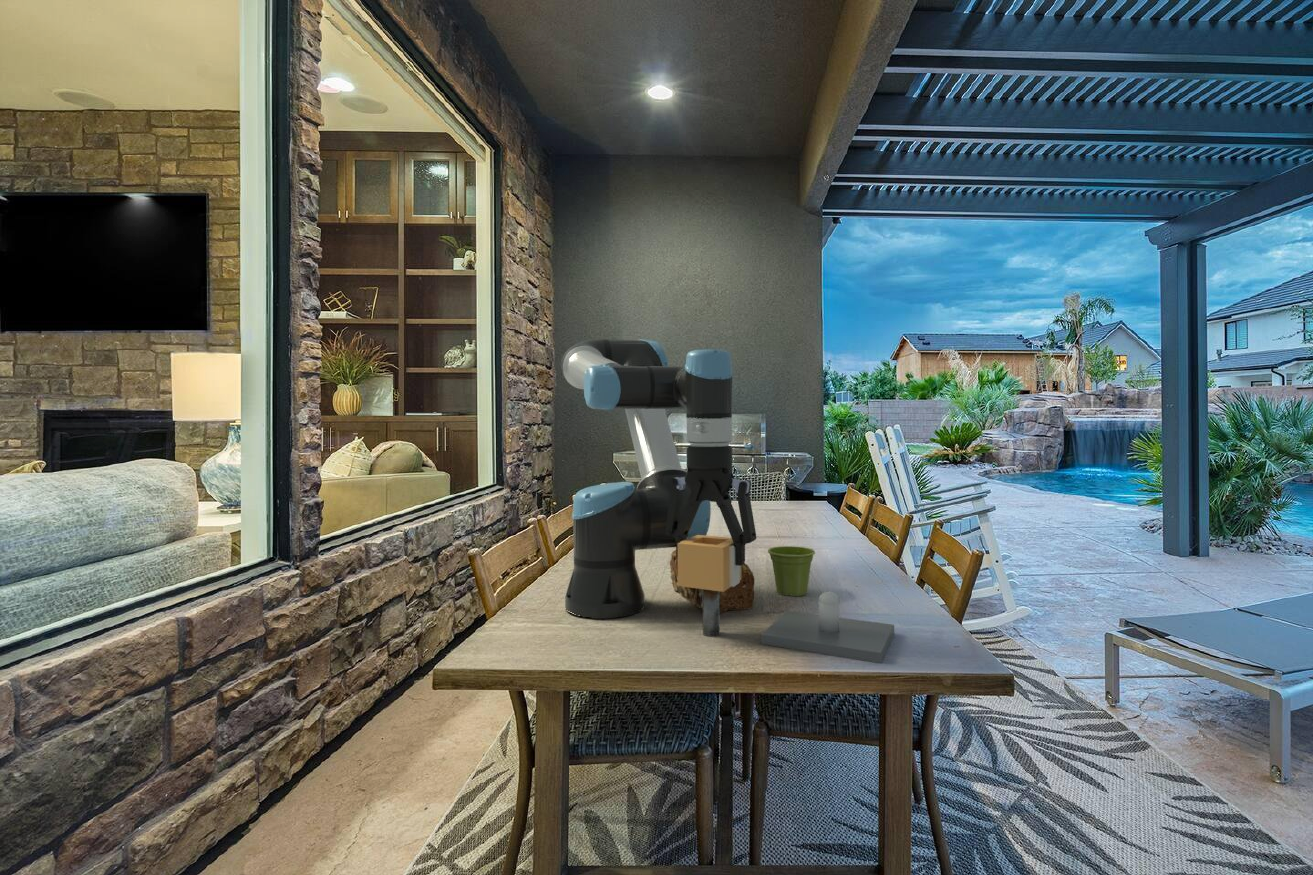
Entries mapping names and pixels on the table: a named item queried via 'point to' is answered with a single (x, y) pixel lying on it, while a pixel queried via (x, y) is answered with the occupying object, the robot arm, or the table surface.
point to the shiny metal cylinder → (710, 612)
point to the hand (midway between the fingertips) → (709, 581)
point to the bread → (728, 599)
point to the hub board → (830, 633)
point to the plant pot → (791, 569)
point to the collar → (704, 563)
